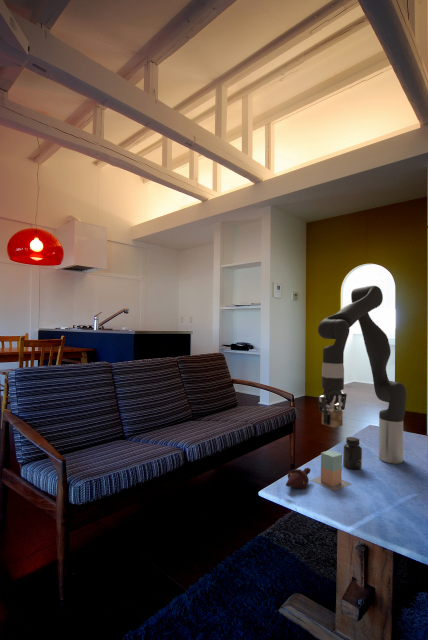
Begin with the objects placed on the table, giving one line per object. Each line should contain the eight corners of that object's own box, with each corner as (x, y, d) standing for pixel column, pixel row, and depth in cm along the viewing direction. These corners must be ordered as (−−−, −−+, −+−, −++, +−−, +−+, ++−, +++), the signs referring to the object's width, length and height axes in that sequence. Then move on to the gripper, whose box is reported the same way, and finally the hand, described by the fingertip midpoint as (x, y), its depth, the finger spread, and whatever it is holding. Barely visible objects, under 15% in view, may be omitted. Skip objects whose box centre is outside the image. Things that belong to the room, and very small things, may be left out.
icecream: (299, 481, 113) (320, 471, 124) (280, 468, 118) (301, 460, 129) (292, 501, 113) (314, 489, 125) (274, 487, 118) (296, 478, 129)
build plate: (327, 476, 132) (327, 473, 132) (351, 486, 124) (351, 483, 124) (310, 482, 126) (310, 480, 126) (334, 494, 118) (334, 491, 118)
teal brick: (329, 463, 129) (330, 450, 129) (341, 468, 125) (342, 454, 125) (320, 466, 126) (321, 452, 126) (332, 471, 122) (333, 457, 122)
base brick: (329, 477, 129) (329, 463, 129) (341, 482, 125) (341, 468, 125) (320, 481, 126) (320, 466, 126) (332, 486, 122) (332, 471, 122)
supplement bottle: (363, 473, 135) (363, 442, 135) (344, 471, 137) (345, 440, 137) (359, 466, 142) (360, 436, 142) (341, 465, 143) (342, 435, 144)
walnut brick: (330, 422, 129) (330, 408, 129) (342, 425, 125) (342, 411, 125) (321, 424, 126) (321, 410, 126) (333, 427, 122) (333, 413, 122)
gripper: (336, 373, 133) (335, 418, 133) (311, 375, 125) (310, 423, 124) (354, 375, 127) (353, 423, 127) (329, 378, 119) (328, 429, 118)
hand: (331, 423), depth 125 cm, fingers closed on walnut brick, 5 cm apart
